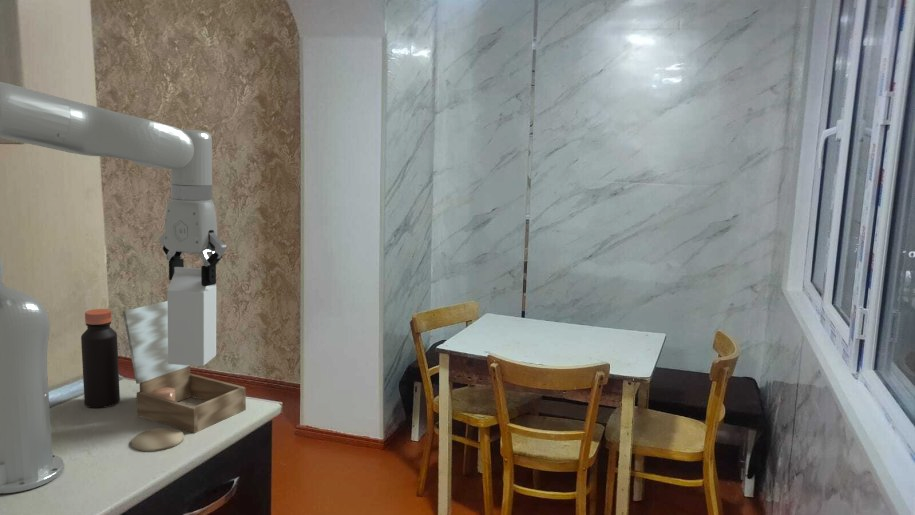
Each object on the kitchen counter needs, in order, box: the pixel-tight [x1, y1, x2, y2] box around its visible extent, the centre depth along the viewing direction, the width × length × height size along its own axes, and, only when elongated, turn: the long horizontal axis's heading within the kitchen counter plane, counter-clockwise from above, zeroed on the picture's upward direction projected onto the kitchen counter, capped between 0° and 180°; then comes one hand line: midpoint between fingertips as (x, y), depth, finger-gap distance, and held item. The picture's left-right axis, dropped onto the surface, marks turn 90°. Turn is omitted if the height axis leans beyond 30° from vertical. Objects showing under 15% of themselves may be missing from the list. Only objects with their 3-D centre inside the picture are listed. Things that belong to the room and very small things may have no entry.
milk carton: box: [167, 267, 217, 367], centre depth 140 cm, size 7×7×19 cm
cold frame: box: [122, 300, 247, 434], centre depth 145 cm, size 14×19×22 cm
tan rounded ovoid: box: [152, 387, 175, 401], centre depth 144 cm, size 4×4×5 cm
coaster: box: [131, 427, 185, 452], centre depth 132 cm, size 9×9×1 cm
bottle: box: [80, 308, 121, 409], centre depth 148 cm, size 7×7×20 cm
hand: (192, 281), depth 139 cm, fingers closed on milk carton, 8 cm apart
